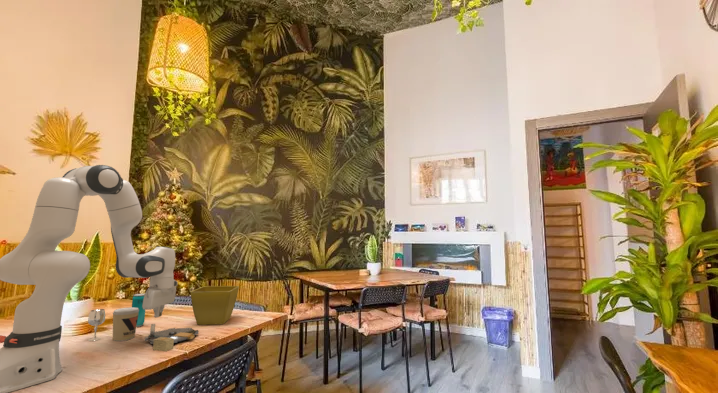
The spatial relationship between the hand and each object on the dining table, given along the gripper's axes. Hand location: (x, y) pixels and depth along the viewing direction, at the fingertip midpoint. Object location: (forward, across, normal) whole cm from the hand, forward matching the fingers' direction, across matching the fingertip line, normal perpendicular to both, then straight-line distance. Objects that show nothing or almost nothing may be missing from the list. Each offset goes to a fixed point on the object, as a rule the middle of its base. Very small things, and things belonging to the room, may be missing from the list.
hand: (157, 316), depth 142 cm
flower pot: (+8, +28, -14) cm, 33 cm away
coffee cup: (+9, +2, +14) cm, 17 cm away
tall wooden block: (+10, -12, -9) cm, 18 cm away
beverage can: (+9, +21, +20) cm, 30 cm away
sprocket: (+9, 0, -7) cm, 11 cm away
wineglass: (+10, +1, +25) cm, 27 cm away
